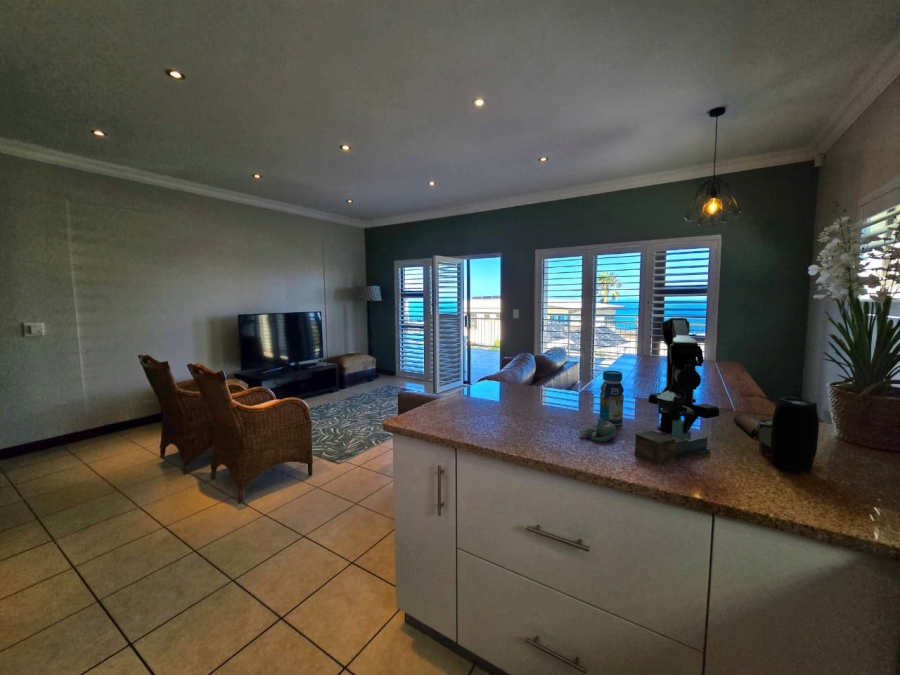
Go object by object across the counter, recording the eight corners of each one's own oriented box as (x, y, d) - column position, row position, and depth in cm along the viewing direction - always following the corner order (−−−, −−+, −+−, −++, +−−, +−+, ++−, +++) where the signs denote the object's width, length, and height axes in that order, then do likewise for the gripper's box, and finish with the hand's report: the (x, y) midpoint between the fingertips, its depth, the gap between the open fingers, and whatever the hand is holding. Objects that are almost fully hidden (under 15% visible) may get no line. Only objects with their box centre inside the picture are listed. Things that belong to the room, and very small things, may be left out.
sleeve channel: (684, 442, 119) (685, 429, 118) (710, 452, 112) (710, 438, 111) (650, 450, 113) (651, 437, 112) (675, 461, 105) (675, 446, 105)
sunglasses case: (782, 441, 120) (771, 423, 121) (759, 448, 122) (747, 431, 123) (760, 424, 136) (750, 408, 137) (739, 431, 139) (730, 415, 140)
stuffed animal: (574, 417, 130) (608, 411, 129) (577, 436, 130) (611, 430, 129) (583, 427, 119) (620, 421, 118) (586, 448, 120) (623, 442, 118)
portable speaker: (823, 476, 96) (830, 404, 94) (785, 475, 96) (792, 404, 95) (795, 461, 104) (801, 396, 102) (760, 461, 105) (766, 395, 103)
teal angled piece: (676, 444, 114) (678, 418, 113) (688, 448, 111) (689, 422, 110) (647, 451, 109) (649, 424, 108) (658, 456, 106) (660, 428, 105)
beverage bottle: (601, 417, 145) (603, 369, 144) (624, 421, 140) (626, 371, 139) (596, 423, 139) (598, 372, 137) (620, 427, 134) (622, 374, 132)
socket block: (650, 450, 113) (651, 430, 112) (675, 461, 105) (676, 439, 105) (634, 454, 110) (635, 433, 109) (658, 465, 103) (659, 443, 102)
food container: (793, 451, 112) (796, 419, 111) (805, 459, 106) (808, 426, 105) (745, 446, 116) (748, 416, 115) (754, 453, 110) (757, 422, 109)
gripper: (637, 378, 115) (635, 425, 117) (696, 391, 98) (693, 446, 100) (661, 375, 120) (659, 421, 121) (722, 387, 102) (718, 440, 104)
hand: (680, 431), depth 111 cm, fingers closed on teal angled piece, 3 cm apart
